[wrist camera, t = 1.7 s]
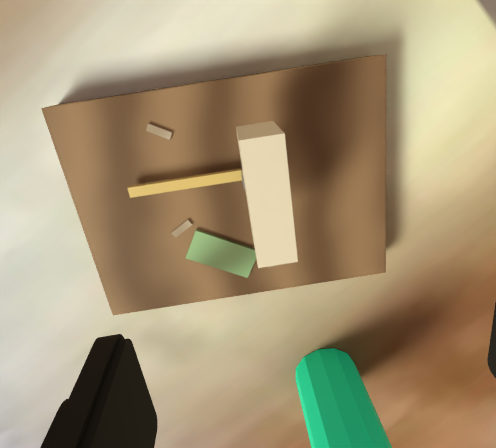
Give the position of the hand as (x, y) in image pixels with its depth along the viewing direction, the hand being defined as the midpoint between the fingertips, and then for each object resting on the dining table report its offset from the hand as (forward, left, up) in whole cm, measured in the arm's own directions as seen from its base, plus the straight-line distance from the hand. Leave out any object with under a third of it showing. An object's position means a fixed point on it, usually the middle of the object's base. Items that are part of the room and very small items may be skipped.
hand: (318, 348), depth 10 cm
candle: (-4, +22, -21) cm, 30 cm away
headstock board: (+2, +2, -21) cm, 21 cm away
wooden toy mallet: (+4, 0, -18) cm, 18 cm away
